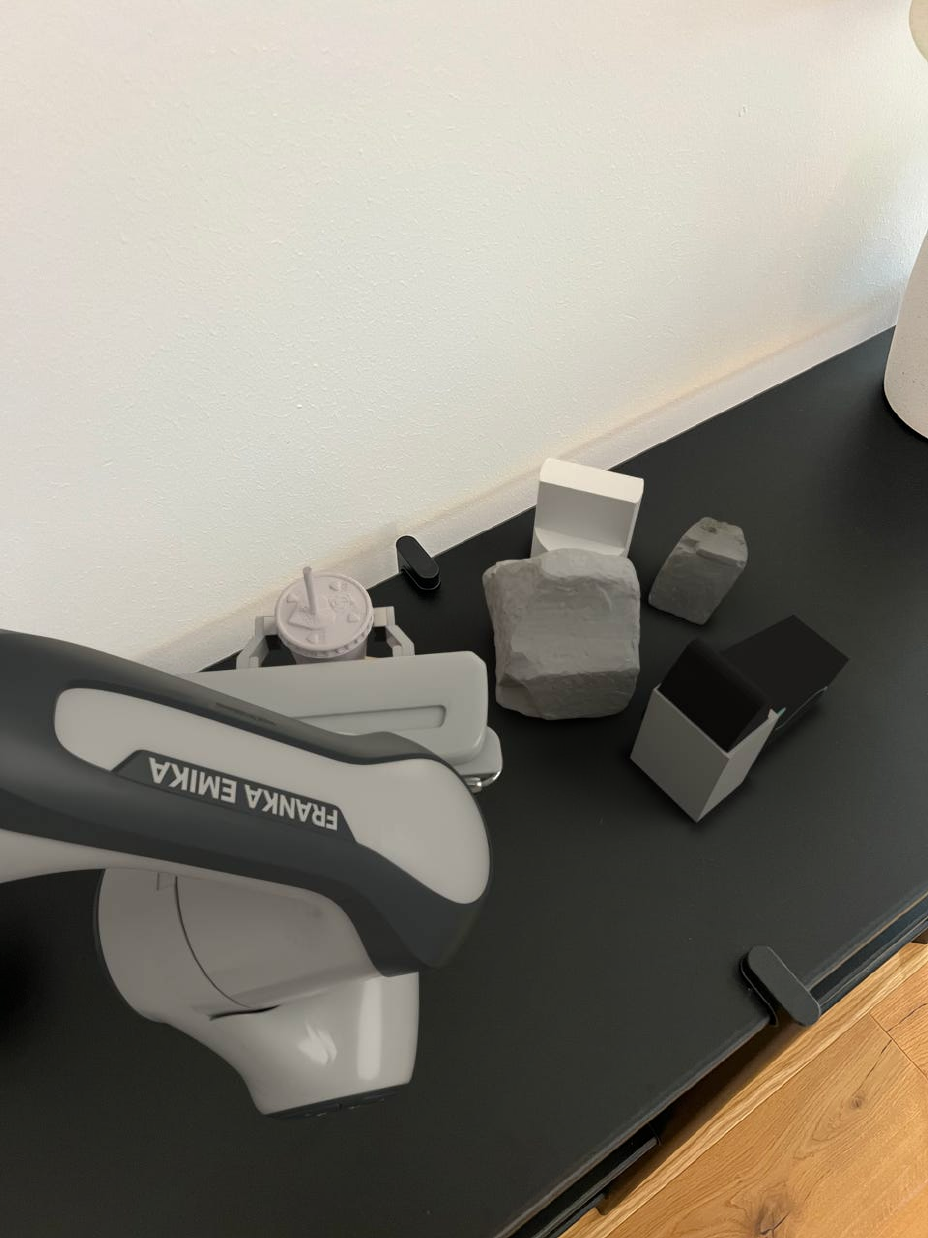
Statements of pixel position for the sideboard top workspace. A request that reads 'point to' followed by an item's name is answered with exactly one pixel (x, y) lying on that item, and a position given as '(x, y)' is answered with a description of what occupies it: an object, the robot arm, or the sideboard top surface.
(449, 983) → the sideboard top surface
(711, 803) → the decorative object
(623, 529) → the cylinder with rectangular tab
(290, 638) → the smoothie
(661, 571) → the mineral specimen
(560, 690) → the stone
